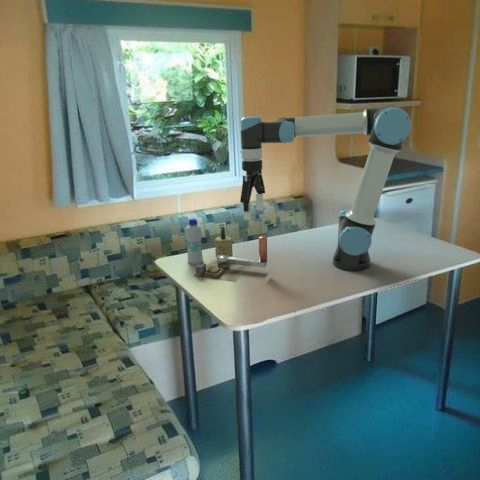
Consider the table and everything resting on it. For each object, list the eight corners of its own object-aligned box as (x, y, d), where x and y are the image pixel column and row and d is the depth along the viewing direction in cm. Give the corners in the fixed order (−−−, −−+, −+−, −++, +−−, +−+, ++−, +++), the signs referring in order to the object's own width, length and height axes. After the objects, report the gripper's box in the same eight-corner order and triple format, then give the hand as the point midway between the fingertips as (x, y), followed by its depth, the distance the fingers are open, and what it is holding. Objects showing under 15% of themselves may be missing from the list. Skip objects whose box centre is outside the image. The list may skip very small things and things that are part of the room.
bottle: (206, 262, 207) (203, 217, 200) (198, 268, 201) (195, 222, 195) (192, 260, 210) (189, 216, 203) (184, 266, 204) (181, 220, 197)
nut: (220, 272, 192) (220, 263, 191) (216, 276, 189) (216, 266, 188) (211, 271, 194) (210, 262, 192) (207, 275, 190) (206, 265, 189)
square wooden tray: (252, 267, 201) (252, 254, 199) (235, 285, 184) (235, 272, 182) (212, 262, 207) (211, 250, 205) (192, 279, 190) (192, 266, 188)
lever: (215, 263, 195) (213, 234, 192) (219, 259, 200) (218, 231, 196) (265, 269, 188) (264, 239, 184) (269, 264, 192) (268, 235, 189)
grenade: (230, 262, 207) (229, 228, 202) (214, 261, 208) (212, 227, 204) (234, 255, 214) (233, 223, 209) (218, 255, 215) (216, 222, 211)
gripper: (254, 154, 193) (255, 205, 200) (229, 165, 172) (232, 223, 178) (272, 154, 191) (273, 206, 197) (249, 165, 169) (251, 224, 176)
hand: (253, 214), depth 188 cm, fingers open, 13 cm apart
